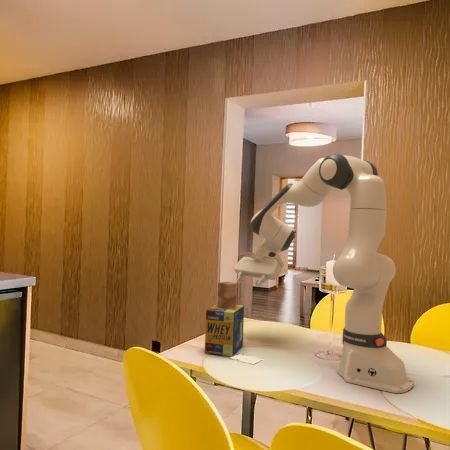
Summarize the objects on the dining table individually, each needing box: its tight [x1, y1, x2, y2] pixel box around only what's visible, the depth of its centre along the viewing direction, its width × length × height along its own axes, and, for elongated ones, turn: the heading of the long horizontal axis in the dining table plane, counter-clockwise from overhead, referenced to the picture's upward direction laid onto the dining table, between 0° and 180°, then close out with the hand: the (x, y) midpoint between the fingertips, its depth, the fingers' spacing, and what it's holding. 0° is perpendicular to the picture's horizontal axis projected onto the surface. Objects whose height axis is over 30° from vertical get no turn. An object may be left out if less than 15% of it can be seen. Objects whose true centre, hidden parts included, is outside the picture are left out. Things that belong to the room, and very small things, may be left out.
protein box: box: [204, 304, 245, 357], centre depth 151 cm, size 10×15×16 cm
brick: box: [216, 281, 238, 309], centre depth 152 cm, size 5×5×9 cm
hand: (247, 283), depth 160 cm, fingers open, 8 cm apart
